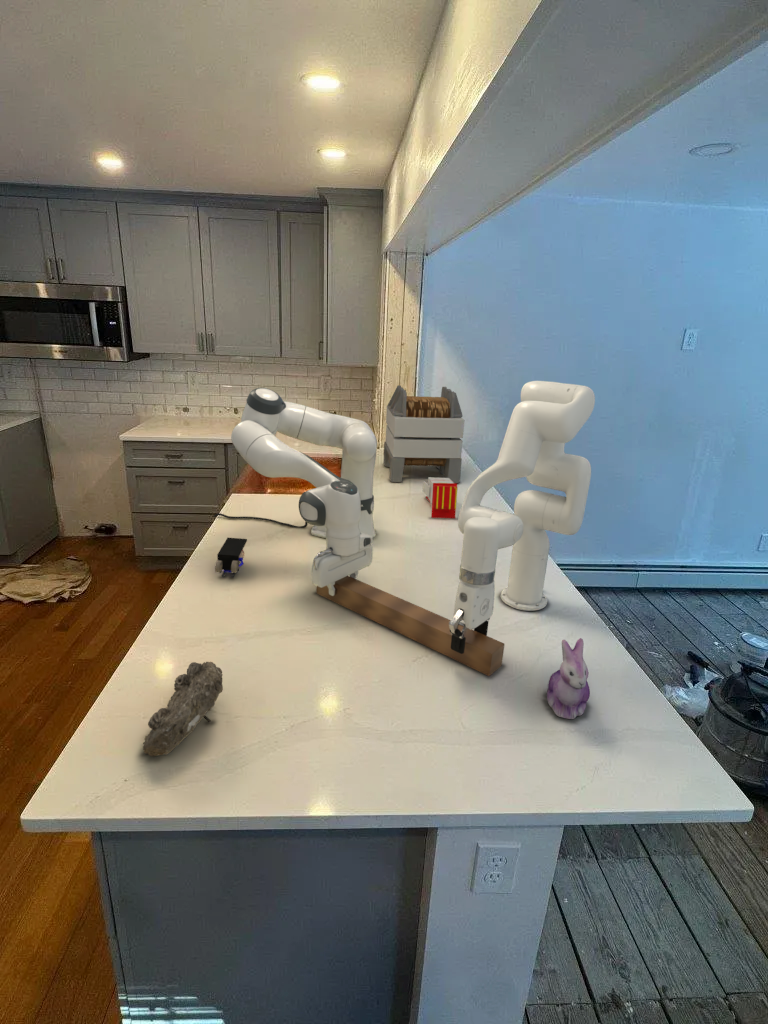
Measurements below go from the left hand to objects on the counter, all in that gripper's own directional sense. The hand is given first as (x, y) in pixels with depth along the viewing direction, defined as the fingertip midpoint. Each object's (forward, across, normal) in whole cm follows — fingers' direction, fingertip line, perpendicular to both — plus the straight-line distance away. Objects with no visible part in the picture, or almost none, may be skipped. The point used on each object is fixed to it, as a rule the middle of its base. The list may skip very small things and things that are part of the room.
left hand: (342, 590), depth 153 cm
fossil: (+2, -54, -12) cm, 56 cm away
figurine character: (+3, -10, +35) cm, 37 cm away
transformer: (+3, +117, +60) cm, 131 cm away
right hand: (-2, 0, -40) cm, 40 cm away
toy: (+3, +82, +25) cm, 86 cm away
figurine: (+2, 0, -64) cm, 64 cm away
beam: (+3, 0, -20) cm, 20 cm away
